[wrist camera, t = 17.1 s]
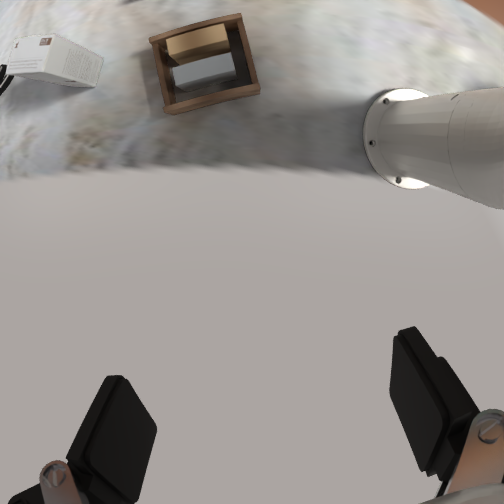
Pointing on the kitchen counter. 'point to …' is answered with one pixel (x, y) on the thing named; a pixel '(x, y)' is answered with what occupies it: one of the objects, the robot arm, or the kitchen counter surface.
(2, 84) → the nameplate
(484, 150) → the robot arm
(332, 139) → the kitchen counter surface
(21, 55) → the skincare box
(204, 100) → the walnut rack
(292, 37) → the kitchen counter surface
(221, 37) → the oak offcut
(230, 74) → the slate offcut
